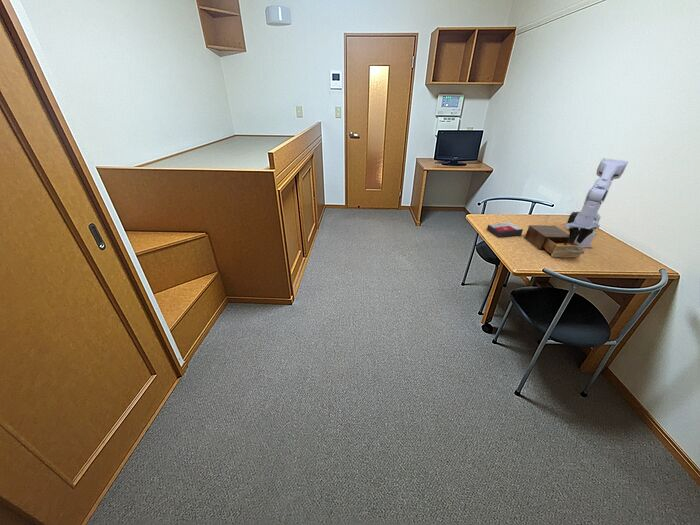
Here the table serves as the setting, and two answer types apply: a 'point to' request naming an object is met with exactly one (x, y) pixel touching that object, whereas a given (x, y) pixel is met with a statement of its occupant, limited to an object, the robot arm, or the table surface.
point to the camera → (572, 217)
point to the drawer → (562, 247)
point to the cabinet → (543, 234)
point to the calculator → (504, 229)
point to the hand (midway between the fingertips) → (574, 242)
